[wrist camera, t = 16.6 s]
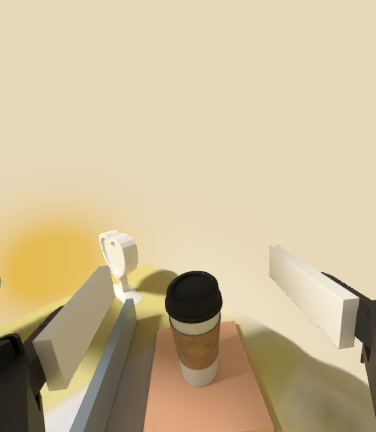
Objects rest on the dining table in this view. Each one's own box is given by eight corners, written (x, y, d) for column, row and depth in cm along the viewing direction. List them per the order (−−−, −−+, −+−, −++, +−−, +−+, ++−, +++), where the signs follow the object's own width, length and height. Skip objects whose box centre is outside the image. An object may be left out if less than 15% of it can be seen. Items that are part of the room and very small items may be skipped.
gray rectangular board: (63, 521, 17) (47, 482, 16) (130, 321, 40) (126, 298, 39) (79, 519, 17) (65, 479, 16) (137, 320, 40) (133, 298, 39)
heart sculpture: (105, 286, 55) (94, 231, 51) (121, 279, 58) (111, 227, 54) (130, 310, 44) (118, 242, 40) (147, 299, 47) (138, 236, 43)
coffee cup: (232, 355, 30) (230, 276, 27) (212, 412, 23) (205, 315, 20) (190, 335, 34) (183, 265, 31) (162, 378, 28) (150, 294, 24)
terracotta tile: (142, 450, 21) (141, 444, 21) (157, 333, 37) (157, 329, 36) (274, 432, 22) (274, 427, 21) (234, 325, 37) (233, 321, 37)
